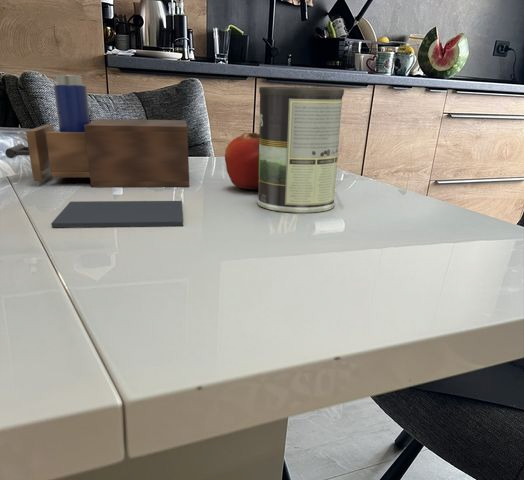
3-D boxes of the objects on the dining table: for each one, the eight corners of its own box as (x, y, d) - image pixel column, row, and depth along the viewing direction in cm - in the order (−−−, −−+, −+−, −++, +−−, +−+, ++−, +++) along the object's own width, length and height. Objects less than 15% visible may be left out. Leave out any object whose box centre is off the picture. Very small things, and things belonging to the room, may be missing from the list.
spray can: (62, 168, 85) (49, 74, 79) (67, 164, 89) (55, 74, 83) (92, 168, 85) (82, 75, 80) (96, 164, 89) (86, 75, 84)
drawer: (3, 180, 80) (-6, 130, 77) (25, 167, 92) (18, 124, 89) (126, 180, 83) (122, 131, 80) (132, 167, 94) (129, 125, 91)
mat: (51, 227, 59) (51, 223, 58) (70, 205, 69) (70, 201, 69) (183, 225, 61) (183, 221, 60) (181, 204, 71) (181, 200, 71)
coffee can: (246, 209, 70) (246, 86, 63) (271, 195, 78) (274, 86, 72) (324, 216, 67) (333, 88, 60) (342, 201, 75) (351, 88, 69)
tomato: (242, 182, 88) (242, 129, 85) (294, 188, 85) (296, 132, 81) (212, 191, 81) (211, 133, 77) (268, 197, 77) (270, 136, 74)
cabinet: (91, 187, 82) (84, 125, 78) (102, 172, 95) (96, 119, 91) (189, 186, 84) (187, 126, 80) (187, 172, 97) (185, 120, 93)
